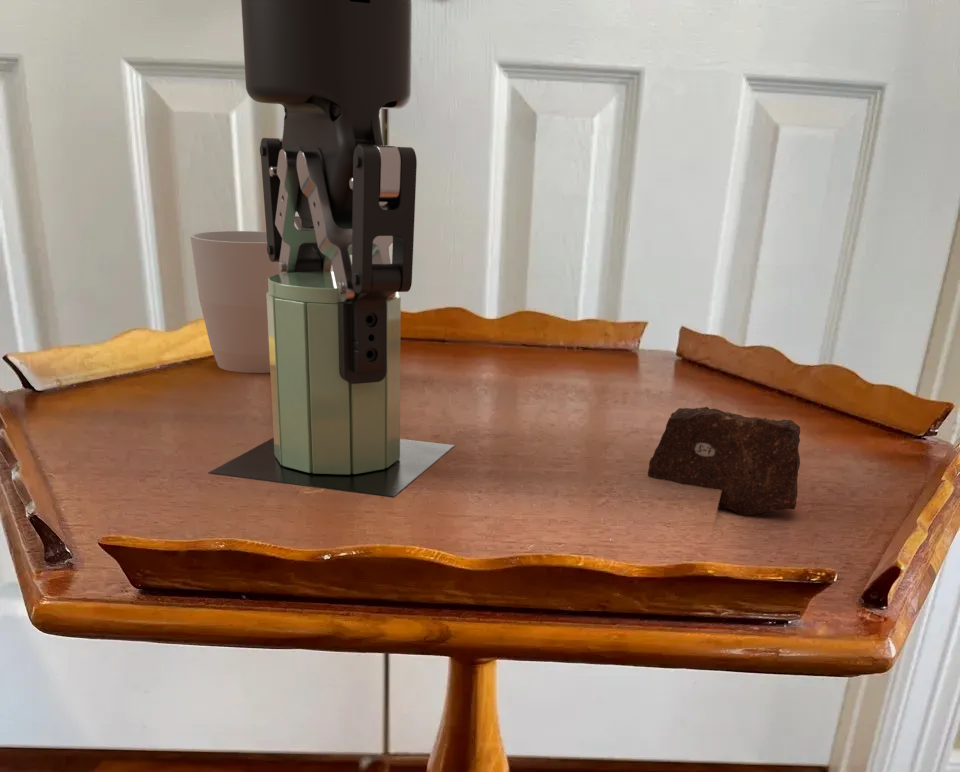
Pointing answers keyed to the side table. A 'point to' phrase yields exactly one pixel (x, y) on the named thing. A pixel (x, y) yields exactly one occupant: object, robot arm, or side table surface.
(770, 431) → the stone
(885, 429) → the side table surface
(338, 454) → the tumbler
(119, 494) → the side table surface
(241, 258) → the cup
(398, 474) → the holder
